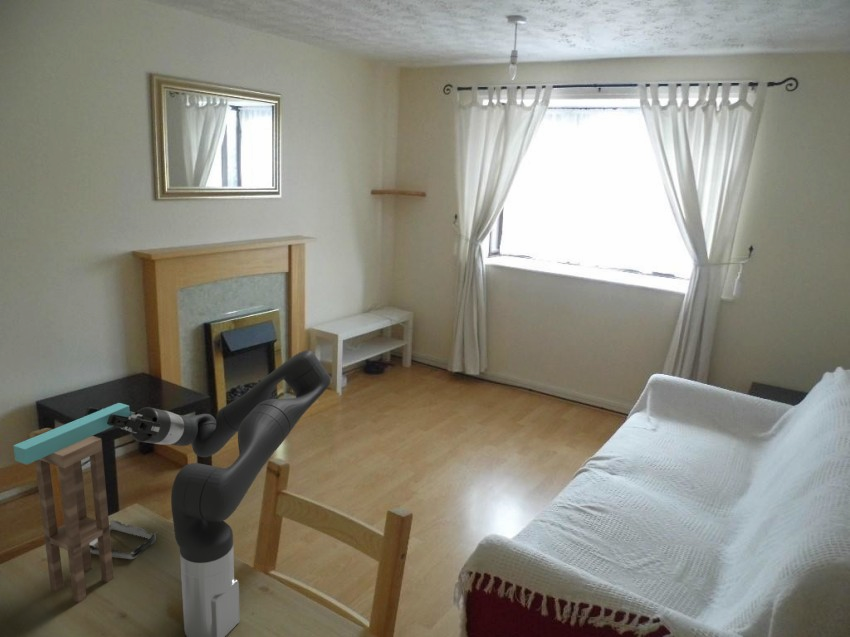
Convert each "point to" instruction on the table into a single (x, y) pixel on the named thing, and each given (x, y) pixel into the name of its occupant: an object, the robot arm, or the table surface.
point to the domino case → (67, 434)
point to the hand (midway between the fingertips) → (98, 416)
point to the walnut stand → (75, 515)
